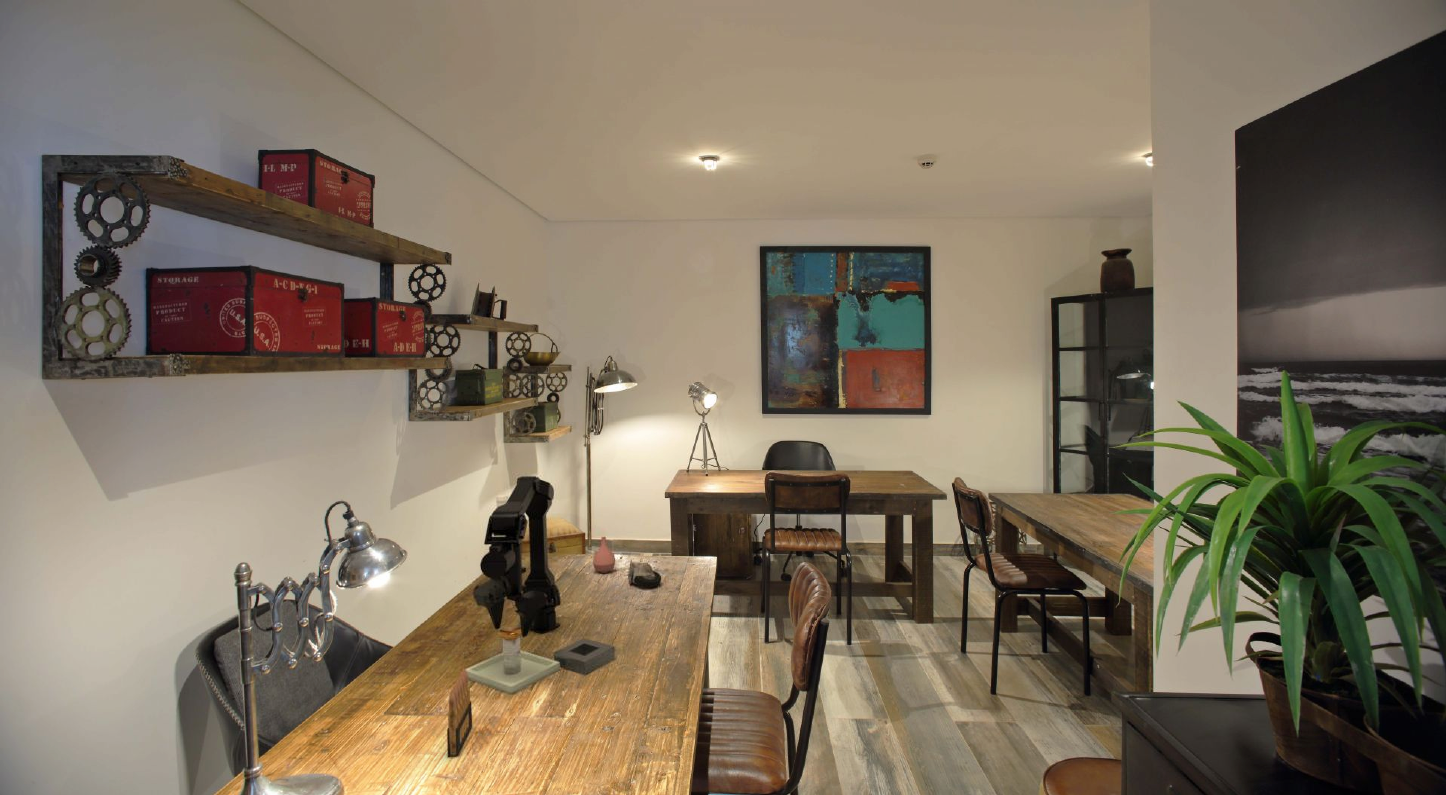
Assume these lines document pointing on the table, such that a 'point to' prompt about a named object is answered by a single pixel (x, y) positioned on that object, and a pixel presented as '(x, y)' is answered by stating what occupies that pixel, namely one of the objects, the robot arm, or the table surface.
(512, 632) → the light grey cylindrical piece
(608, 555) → the pink vase
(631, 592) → the table surface
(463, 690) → the ammunition clip
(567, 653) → the block
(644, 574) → the caster wheel
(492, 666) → the tray
